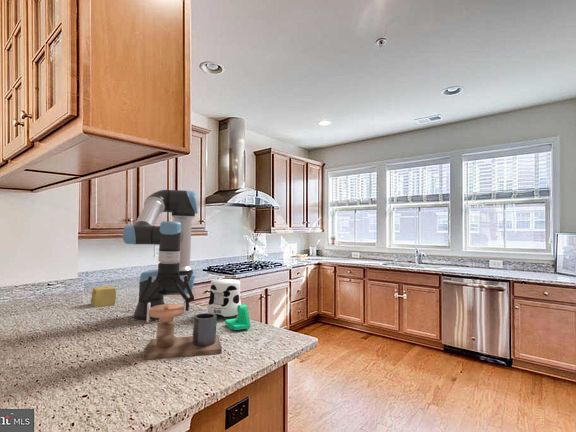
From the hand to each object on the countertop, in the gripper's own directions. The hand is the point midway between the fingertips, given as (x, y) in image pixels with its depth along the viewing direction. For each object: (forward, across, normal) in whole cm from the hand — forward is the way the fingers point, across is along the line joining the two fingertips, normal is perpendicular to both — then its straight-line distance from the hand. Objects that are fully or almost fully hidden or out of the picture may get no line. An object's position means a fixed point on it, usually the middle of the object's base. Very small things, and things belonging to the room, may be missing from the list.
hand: (166, 320), depth 116 cm
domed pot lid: (0, 0, 0) cm, 0 cm away
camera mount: (+11, +30, +21) cm, 38 cm away
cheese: (+12, -40, +77) cm, 87 cm away
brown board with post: (+11, +7, 0) cm, 13 cm away
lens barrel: (+9, +14, 0) cm, 17 cm away
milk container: (+11, +26, +41) cm, 50 cm away
